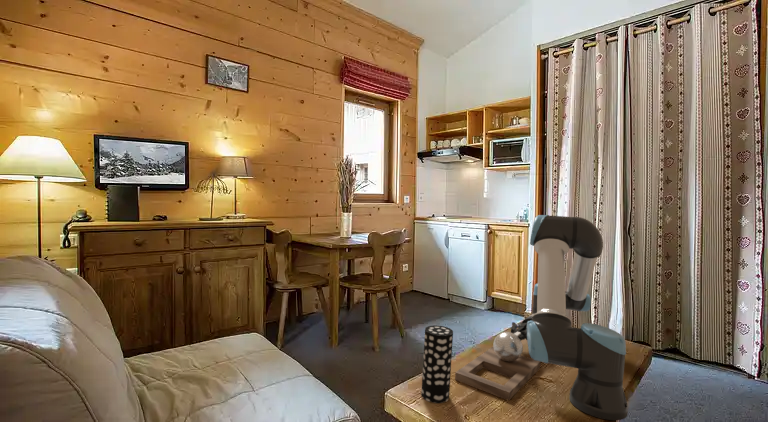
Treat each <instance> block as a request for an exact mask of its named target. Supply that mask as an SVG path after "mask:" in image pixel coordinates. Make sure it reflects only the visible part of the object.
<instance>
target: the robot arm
mask: <svg viewBox="0 0 768 422" xmlns="http://www.w3.org/2000/svg"><path fill="white" fill-rule="evenodd" d="M529 239H530V240H529V241H530V242H529V245H530V246H533V249H534V251H535V252H536V253H537V255H538V256H537V257H538V259H537V283H535V284H534V287H533V292H532V293H533V294H532V295H533V296H532V309H531V310H532V311H531V314H530V315H528V316H527V317H525V318H524V319H523V320H522V321H521V322H519V323H518V324H517V323H516V322H514V321H512V322H511V327H510V332H511V333H513V334H515V335H516V336H518V338H519V339H520V340H521V341H524V340H526V342H527V347H528V354H529V356H530V358H532V359H534V360H536V361H540V363H541V362H542V363H544V364H549V365H550V364H551V365H557V366H562V367H563V366H564V367H567V368H572V369H573V368H574V369H577V375H576V378H575V380H574V382H573V385H572V387H571V388H570V390H569V401H570V403H571V404H572V405H573V406H574V407H575V408H576V409H578V410H579V411H581V412H583V413H584V414H587V415H590V416H592V417H595V418H597V419H603V420H608V421H621V420H625V419H626V418H627V417H628V412H629V405H628V403H627V398H626V394H625V390H624V387H623V384H624V383H623V382H624V375H625V361H626V355H627V349H626V348H627V347H626V344H627V343H626V340H625V337H624V336H623V335H622V334H620V333H619V332H617V331H616V330H613V329H612V328H610V327H606V326H603V325H601V324H596V323H591V322H584V323H582V324H581V325H580V328H579V327H574V326H573V325H572V319H571V318H569V316H567V311H566V310H569V311H577V312H585V313H586V312H587V313H588V312H589V311H590V310H591V305H592V304H591V303H592V298H591V297H592V296H591V295H590V294H589V293H588V292H589V289H590V285H591V282H592V277H593V273H594V271H595V267H596V263H597V260H598V258H599V257H601V255H602V253H603V248H604V240H603V237H602V234H601V231H600V230H599V228H597V226H596V224H594V223H593V222H592V221H590V220H588V219H587V218H583V217H579V216H563V215H562V216H561V215H560V216H559V215H549V214H538V215H536V216H535V217H534V219H533V224H532V229H531V234H530V238H529ZM570 249H571V250H573V252H574V256H573V258H572V259H573V260H572V264H571V269H570V273H569V277H568V284H567V287H566V267H565V264H566V262H565V260H566V259H565V256H566V255H567V254H568V253H569V251H570Z"/></svg>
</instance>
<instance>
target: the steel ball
mask: <svg viewBox="0 0 768 422" xmlns="http://www.w3.org/2000/svg"><path fill="white" fill-rule="evenodd" d="M492 347H494V351H495V353H496V355H497V356H498V357H499V358H500V359H502V360H504V361H508V362H511V361H515V360H517V359H518V358H519V357H520V356H521V355H523V350H524V346H523V343H522V340H520V339H519V338H518V336H516V335H515V334H513V333H511V331H505V332H504V331H503V332H500V333H499V334H497V335H496V336H495V338H494V340H493V345H492Z"/></svg>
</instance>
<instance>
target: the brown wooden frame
mask: <svg viewBox="0 0 768 422" xmlns="http://www.w3.org/2000/svg"><path fill="white" fill-rule="evenodd" d="M482 369H485V370H488V371H491V372H494V373H497V374H500V375H502V376H504V377H505V376H506V377H508V378H509V379H508V381H506V382H505V383H504V384H501V383H498V382H495V381H493V380H490V379H487V378H485V377H482V376H480V375H477V373H478V372H480V371H481V370H482ZM540 369H541V362H540V361H536V360H534V359H532V358H531V357H527V356H524V355H523V354H521V356H520V357H519V358H518V359H517V360H515V361H511V362H508V361H504V360H502V359H500V358H499V357H498V356H497V355H496V353H495V351H494V347H493V346H491V347H490V348H489V349H487V350H486V351H484V352H483V353H481V354H480V355H479V356H477V357H476V358H474V359H473V360H471V361H469V362H468V363H467V364H465V365H463V367H461V368H459V369H458V370H456V371H455V377H454V379H455V381H458V382H460V383H462V384H465V385H468V386H471V387H473V388H475V389H478V390H480V391H484V392H486V393H487V394H491V395H493V396H496V397H499V398H501V399H504V400H506V401H510V400H511V399H512V398H513V397H514V396H515V395H516V394H517V393H518V392H519V390H521V389H522V388H523V387H524V386H525V385H526V384H527V382H529V380H530V379H531V378H532V377H534V375H535V374H536V373H537V372H538V371H539V370H540Z"/></svg>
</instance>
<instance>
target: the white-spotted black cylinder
mask: <svg viewBox="0 0 768 422" xmlns="http://www.w3.org/2000/svg"><path fill="white" fill-rule="evenodd" d="M453 340H454V331H453V330H452V329H451V328H450V327H448V326H444V325H433V324H432V325H429V326H426V327H425V329H424V342H423V358H422V359H423V360H422V361H423V363H422V372H421V373H422V376H421V391H420V392H421V394H420V395H421V398H422V399H424V400H425V401H427V402H429V403H432V404H433V403H434V404H443V403H446V402H448V401H449V400H450V389H451V388H450V386H451V373H452V371H451V370H452V357H453V354H452V353H453V342H454V341H453Z"/></svg>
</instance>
